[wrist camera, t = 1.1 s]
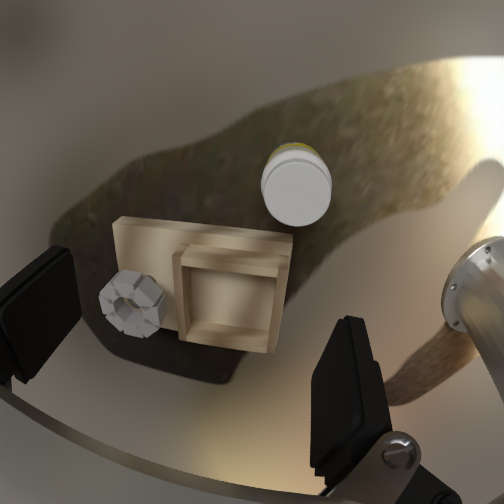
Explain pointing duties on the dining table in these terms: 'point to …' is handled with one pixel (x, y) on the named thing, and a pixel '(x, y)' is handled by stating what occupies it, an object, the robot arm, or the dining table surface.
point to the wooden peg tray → (211, 278)
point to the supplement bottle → (296, 184)
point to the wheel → (142, 295)
